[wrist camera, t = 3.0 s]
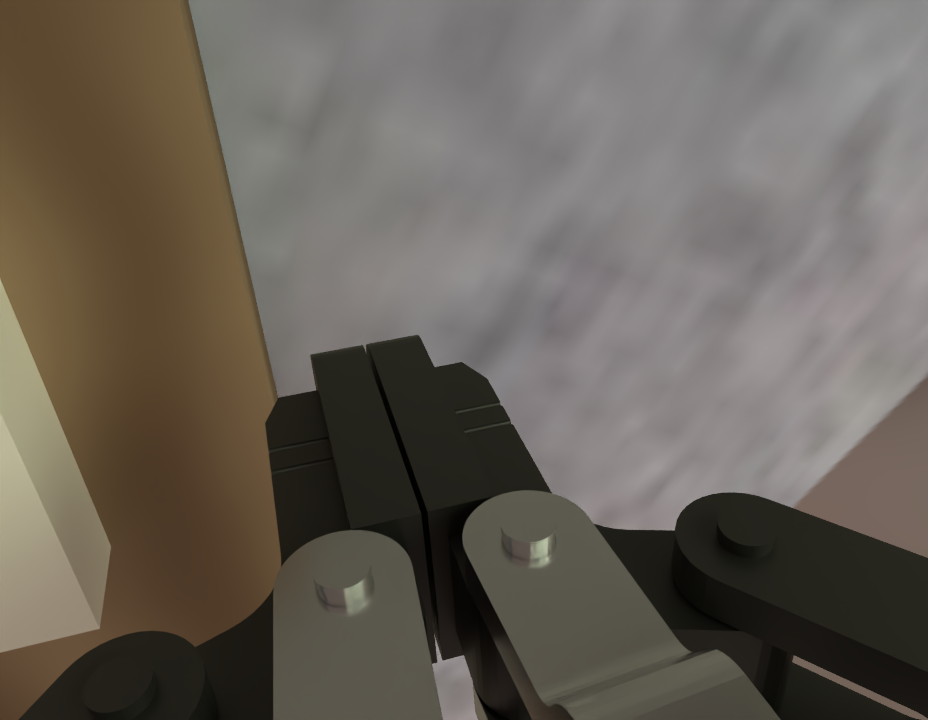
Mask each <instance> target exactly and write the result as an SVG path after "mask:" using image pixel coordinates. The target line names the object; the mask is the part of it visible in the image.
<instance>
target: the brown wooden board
mask: <svg viewBox="0 0 928 720" xmlns="http://www.w3.org/2000/svg"><path fill="white" fill-rule="evenodd" d="M0 279H1V282H2V284H3V287H4V289H5V292H6V294H7V296H8V299H9V301H10V304H11V306H12V308H13V311H14V313H15V316H16V318H17V321H18V323H19V325H20V328H21V330H22V333H23V335H24V337H25V340H26V342H27V345H28V347H29V349H30V352H31V354H32V357H33V359H34V362H35V364H36V366H37V369H38V371H39V374H40V376H41V378H42V381H43V383H44V386H45V388H46V391H47V393H48V395H49V398H50V400H51V403H52V405H53V407H54V410H55V412H56V415H57V417H58V420H59V422H60V424H61V427H62V429H63V432H64V434H65V436H66V439H67V441H68V444H69V446H70V449H71V451H72V453H73V456H74V458H75V461H76V463H77V465H78V468H79V470H80V473H81V475H82V478H83V480H84V482H85V485H86V487H87V490H88V492H89V494H90V497H91V499H92V502H93V504H94V507H95V509H96V511H97V514H98V516H99V519H100V521H101V523H102V526H103V528H104V531H105V533H106V535H107V538H108V540H109V543H110V545H111V550H110V558H109V565H108V572H107V579H106V587H105V594H104V601H103V609H102V616H101V623H100V629H97V630H93V631H88V632H84V633H80V634H76V635H72V636H68V637H63V638H59V639H55V640H51V641H47V642H43V643H38V644H34V645H30V646H26V647H22V648H18V649H13V650H9V651H5V652H1V653H0V720H19V718H20V717H21V716H22V715H23V714H24V713H25V712H26V711H27V710H28V709H29V708H30V707H31V706H32V705H33V704H34V703H35V702H36V700H37V699H38V698H39V697H40V696H41V695H42V694H43V693H44V692H45V691H46V690H47V689H48V688H49V687H50V686H51V685H52V684H53V683H54V681H55V680H56V679H57V678H58V677H59V676H60V675H61V674H62V673H63V672H64V671H65V670H66V669H67V668H68V667H69V666H70V665H71V664H73V663H74V662H75V661H76V660H77V659H79V658H80V657H81V656H83V655H84V654H85V653H87V652H88V651H90V650H92V649H93V648H95V647H97V646H98V645H100V644H102V643H105V642H107V641H109V640H111V639H114V638H117V637H120V636H123V635H126V634H130V633H135V632H141V631H164V632H168V633H172V634H176V635H178V636H180V637H182V638H185V639H186V640H187V641H189V642H190V643H191V644H193V645H194V647H196V646H198V645H200V644H202V643H204V642H206V641H208V640H210V639H211V638H213V637H215V636H217V635H219V634H221V633H223V632H225V631H227V630H228V629H230V628H232V627H233V626H235V625H237V624H239V623H240V622H242V621H243V620H244V619H246V618H247V617H248V616H250V615H251V614H252V613H253V612H254V611H255V610H256V609H257V608H258V607H260V606H261V605H262V603H263V602H264V601H265V600H266V598H267V597H268V596H269V595H270V593H271V591H272V590H273V588H274V583H275V580H276V577H277V574H278V572H279V570H280V569H281V552H280V544H279V535H278V527H277V519H276V510H275V502H274V494H273V485H272V477H271V476H272V475H271V469H270V461H269V451H268V444H267V436H266V427H265V422H266V420H267V418H268V417H269V415H270V413H271V411H272V409H273V407H274V405H275V403H276V401H277V399H278V396H277V391H276V387H275V383H274V378H273V374H272V369H271V365H270V361H269V356H268V352H267V347H266V343H265V338H264V334H263V330H262V325H261V321H260V316H259V312H258V308H257V303H256V299H255V294H254V290H253V285H252V281H251V277H250V272H249V268H248V263H247V259H246V255H245V250H244V246H243V241H242V237H241V232H240V228H239V224H238V219H237V215H236V210H235V206H234V202H233V197H232V193H231V188H230V184H229V180H228V175H227V171H226V166H225V162H224V157H223V153H222V149H221V144H220V140H219V135H218V131H217V127H216V122H215V118H214V113H213V109H212V104H211V100H210V96H209V91H208V87H207V82H206V78H205V74H204V69H203V65H202V60H201V56H200V52H199V47H198V43H197V38H196V34H195V29H194V25H193V21H192V16H191V12H190V7H189V3H188V0H0Z"/></svg>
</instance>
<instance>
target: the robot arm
mask: <svg viewBox="0 0 928 720" xmlns="http://www.w3.org/2000/svg"><path fill="white" fill-rule="evenodd" d="M366 353H367V355H366ZM311 362H312V368H313V374H314V380H315V385H316V391H311V392H306V393H301V394H296V395H291V396H285V397H280V398H278V399H277V401H276V403H275V405H274V407H273V409H272V411H271V413H270V415H269V417H268V418H267V420H266V422H265V427H266V436H267V444H268V451H269V461H270V469H271V475H272V476H271V477H272V485H273V494H274V502H275V510H276V519H277V527H278V535H279V544H280V552H281V569H280V570H279V572H278V574H277V577H276V580H275V583H274V588H273V590H272V591H271V593H270V595H269V596H268V597H267V598H266V600H265V601H264V602H263V603H262V605H261V606H260V607H258V608H257V609H256V610H255V611H254V612H253V613H252V614H251V615H250V616H248V617H247V618H246V619H244V620H243V621H242V622H240V623H239V624H237V625H235V626H233V627H232V628H230V629H228V630H227V631H225V632H223V633H221V634H219V635H217V636H215V637H213V638H211V639H210V640H208V641H206V642H204V643H202V644H200V645H198V646H196V647H194V645H193V644H191V643H190V642H189V641H187V640H186V639H185V638H182V637H180V636H178V635H176V634H172V633H168V632H164V631H141V632H135V633H130V634H126V635H123V636H120V637H117V638H114V639H111V640H109V641H107V642H105V643H102V644H100V645H98V646H97V647H95V648H93V649H92V650H90V651H88V652H87V653H85V654H84V655H83V656H81V657H80V658H79V659H77V660H76V661H75V662H74V663H73V664H71V665H70V666H69V667H68V668H67V669H66V670H65V671H64V672H63V673H62V674H61V675H60V676H59V677H58V678H57V679H56V680H55V681H54V683H53V684H52V685H51V686H50V687H49V688H48V689H47V690H46V691H45V692H44V693H43V694H42V695H41V696H40V697H39V698H38V699H37V700H36V702H35V703H34V704H33V705H32V706H31V707H30V708H29V709H28V710H27V711H26V712H25V713H24V714H23V715H22V716H21V717H20V718H19V720H443V717H442V712H441V707H440V702H439V697H438V692H437V687H436V682H435V677H434V672H433V667H432V664H433V663H437V656H436V646H435V637H436V640H437V644H438V647H439V650H440V653H441V657H442V660H446V659H450V658H454V657H458V656H461V655H464V656H465V659H466V662H467V665H468V668H469V671H470V674H471V677H472V680H473V692H474V704H475V712H476V715H477V718H478V720H919V719H915V718H911V717H909V716H907V715H904V714H902V713H900V712H898V711H896V710H894V709H891V708H889V707H887V706H884V705H882V704H881V703H878V702H876V701H874V700H872V699H870V698H868V697H866V696H863V695H861V694H859V693H857V692H855V691H853V690H851V689H848V688H846V687H844V686H842V685H840V684H837V683H836V682H833V681H831V680H829V679H827V678H825V677H822V676H820V675H818V674H816V673H814V672H812V671H810V670H808V669H806V668H803V667H801V666H799V665H797V664H794V663H793V662H792V660H793V656H794V655H795V656H797V657H799V658H801V659H804V660H806V661H808V662H810V663H812V664H814V665H816V666H819V667H821V668H823V669H825V670H827V671H830V672H832V673H834V674H836V675H838V676H840V677H843V678H845V679H847V680H849V681H851V682H854V683H856V684H858V685H860V686H862V687H864V688H866V689H869V690H871V691H873V692H875V693H877V694H880V695H882V696H884V697H886V698H888V699H890V700H893V701H895V702H897V703H899V704H901V705H904V706H906V707H908V708H910V709H912V710H914V711H916V712H918V713H920V714H922V715H924V716H925V717H927V718H928V558H926V557H924V556H920V555H918V554H915V553H913V552H910V551H907V550H904V549H902V548H899V547H896V546H894V545H891V544H888V543H886V542H883V541H880V540H877V539H875V538H872V537H869V536H866V535H864V534H861V533H858V532H856V531H853V530H850V529H848V528H845V527H842V526H839V525H837V524H834V523H831V522H828V521H826V520H823V519H820V518H818V517H815V516H812V515H809V514H807V513H804V512H801V511H799V510H796V509H793V508H791V507H788V506H785V505H782V504H780V503H777V502H774V501H772V500H769V499H766V498H762V497H759V496H755V495H750V494H745V493H718V494H712V495H708V496H705V497H702V498H699V499H697V500H695V501H693V502H692V503H691V504H689V505H688V506H686V508H685V509H684V510H683V511H682V512H681V513H680V515H679V517H678V519H677V523H676V527H675V531H666V530H623V529H613V528H608V527H603V526H599V525H596V524H593V522H592V521H591V520H590V518H589V517H588V516H587V514H586V513H585V512H584V511H583V510H582V509H581V508H580V507H578V506H577V505H576V504H575V503H573V502H571V501H569V500H568V499H566V498H563V497H561V496H558V495H556V494H552V493H551V491H550V489H549V487H548V486H547V484H546V482H545V480H544V478H543V477H542V475H541V473H540V471H539V470H538V468H537V466H536V464H535V463H534V461H533V459H532V457H531V455H530V454H529V452H528V450H527V448H526V447H525V445H524V443H523V441H522V440H521V438H520V436H519V434H518V432H517V431H516V429H515V427H514V425H511V422H510V418H509V417H508V415H507V413H506V411H505V409H504V408H503V406H501V405H500V401H499V399H498V397H497V395H496V393H495V392H494V390H493V388H492V386H491V385H490V383H489V381H488V379H487V378H485V377H484V376H482V375H481V374H479V373H478V372H476V371H475V370H473V369H471V368H470V367H468V366H467V365H465V364H464V363H462V362H460V363H455V364H450V365H445V366H439V367H434V366H433V364H432V361H431V359H430V357H429V355H428V353H427V351H426V349H425V347H424V344H423V342H422V340H421V338H420V337H419V335H414V336H408V337H403V338H398V339H392V340H387V341H381V342H376V343H370V344H367V345H366V352H365V349H364V347H363V345H361V346H355V347H350V348H344V349H339V350H333V351H328V352H323V353H317V354H312V355H311ZM434 634H435V637H434Z"/></svg>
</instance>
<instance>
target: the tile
mask: <svg viewBox="0 0 928 720" xmlns="http://www.w3.org/2000/svg"><path fill="white" fill-rule="evenodd" d="M110 550H111V545H110V543H109V540H108V538H107V535H106V533H105V531H104V528H103V526H102V523H101V521H100V519H99V516H98V514H97V511H96V509H95V507H94V504H93V502H92V499H91V497H90V494H89V492H88V490H87V487H86V485H85V482H84V480H83V478H82V475H81V473H80V470H79V468H78V465H77V463H76V461H75V458H74V456H73V453H72V451H71V449H70V446H69V444H68V441H67V439H66V436H65V434H64V432H63V429H62V427H61V424H60V422H59V420H58V417H57V415H56V412H55V410H54V407H53V405H52V403H51V400H50V398H49V395H48V393H47V391H46V388H45V386H44V383H43V381H42V378H41V376H40V374H39V371H38V369H37V366H36V364H35V362H34V359H33V357H32V354H31V352H30V349H29V347H28V345H27V342H26V340H25V337H24V335H23V333H22V330H21V328H20V325H19V323H18V321H17V318H16V316H15V313H14V311H13V308H12V306H11V304H10V301H9V299H8V296H7V294H6V292H5V289H4V287H3V284H2V282H1V279H0V653H1V652H5V651H9V650H13V649H18V648H22V647H26V646H30V645H34V644H38V643H43V642H47V641H51V640H55V639H59V638H63V637H68V636H72V635H76V634H80V633H84V632H88V631H93V630H97V629H100V623H101V616H102V609H103V601H104V594H105V587H106V579H107V572H108V565H109V558H110Z"/></svg>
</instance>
